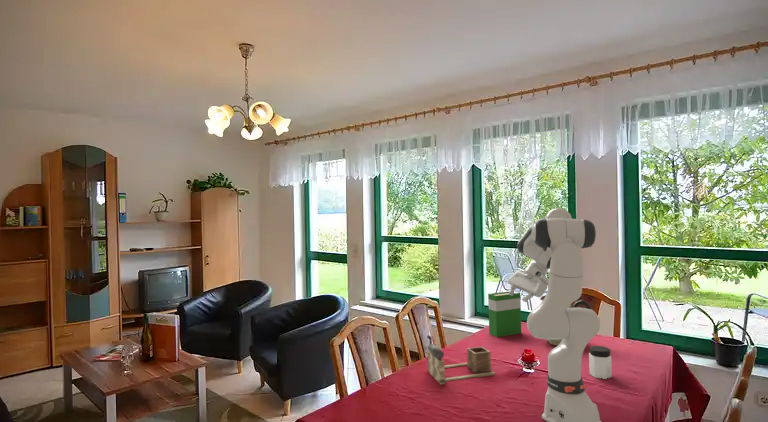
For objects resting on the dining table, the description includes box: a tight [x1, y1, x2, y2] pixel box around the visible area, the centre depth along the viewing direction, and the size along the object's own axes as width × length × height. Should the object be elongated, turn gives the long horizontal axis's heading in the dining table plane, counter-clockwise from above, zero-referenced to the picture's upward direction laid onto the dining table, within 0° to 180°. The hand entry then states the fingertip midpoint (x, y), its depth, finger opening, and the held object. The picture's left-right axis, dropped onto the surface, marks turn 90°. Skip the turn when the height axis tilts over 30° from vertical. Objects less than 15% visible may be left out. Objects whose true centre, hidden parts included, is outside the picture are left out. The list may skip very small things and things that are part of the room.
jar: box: [588, 345, 613, 380], centre depth 198 cm, size 9×8×12 cm
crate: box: [466, 346, 492, 374], centre depth 206 cm, size 8×8×9 cm
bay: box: [426, 335, 496, 385], centre depth 204 cm, size 17×27×17 cm, turn 104°
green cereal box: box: [487, 290, 522, 338], centre depth 266 cm, size 18×7×24 cm, turn 112°
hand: (517, 297), depth 205 cm, fingers open, 8 cm apart
